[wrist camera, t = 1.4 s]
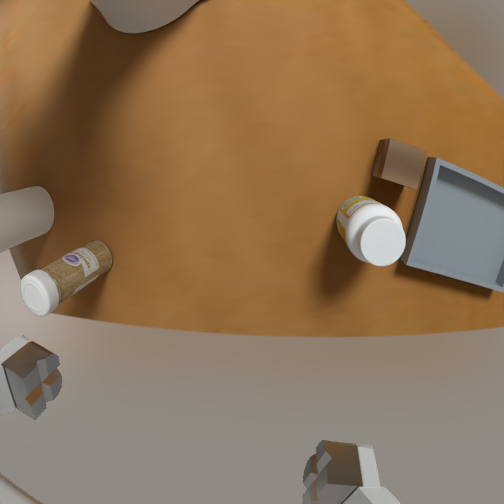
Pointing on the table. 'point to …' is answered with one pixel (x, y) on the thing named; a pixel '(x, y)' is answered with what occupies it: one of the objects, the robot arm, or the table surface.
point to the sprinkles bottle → (64, 277)
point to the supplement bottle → (371, 230)
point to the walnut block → (399, 163)
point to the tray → (458, 226)
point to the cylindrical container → (24, 215)
